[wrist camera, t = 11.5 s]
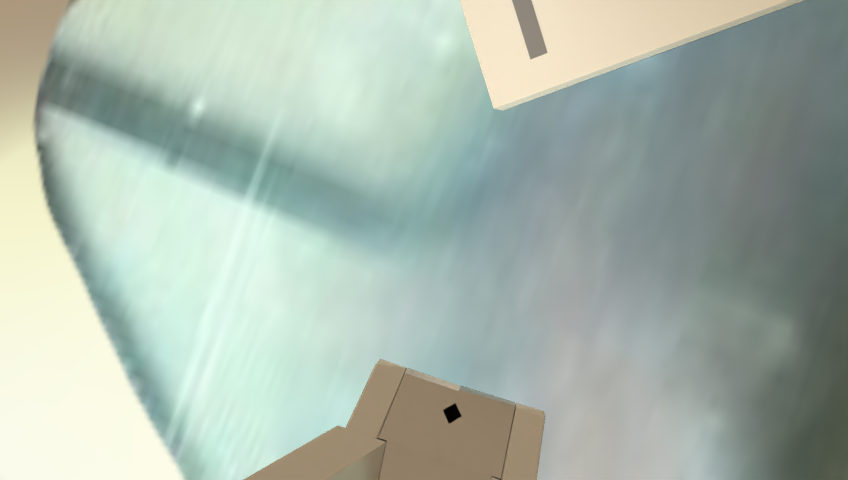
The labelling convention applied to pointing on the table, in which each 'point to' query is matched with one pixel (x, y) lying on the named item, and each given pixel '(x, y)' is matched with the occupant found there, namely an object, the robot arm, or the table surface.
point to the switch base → (587, 37)
